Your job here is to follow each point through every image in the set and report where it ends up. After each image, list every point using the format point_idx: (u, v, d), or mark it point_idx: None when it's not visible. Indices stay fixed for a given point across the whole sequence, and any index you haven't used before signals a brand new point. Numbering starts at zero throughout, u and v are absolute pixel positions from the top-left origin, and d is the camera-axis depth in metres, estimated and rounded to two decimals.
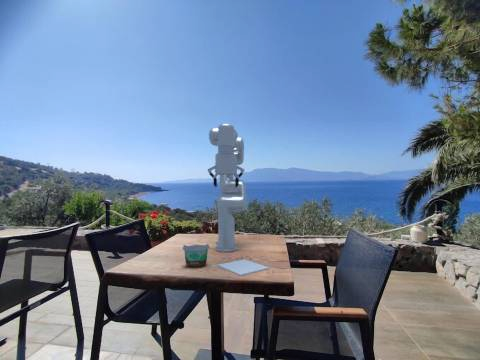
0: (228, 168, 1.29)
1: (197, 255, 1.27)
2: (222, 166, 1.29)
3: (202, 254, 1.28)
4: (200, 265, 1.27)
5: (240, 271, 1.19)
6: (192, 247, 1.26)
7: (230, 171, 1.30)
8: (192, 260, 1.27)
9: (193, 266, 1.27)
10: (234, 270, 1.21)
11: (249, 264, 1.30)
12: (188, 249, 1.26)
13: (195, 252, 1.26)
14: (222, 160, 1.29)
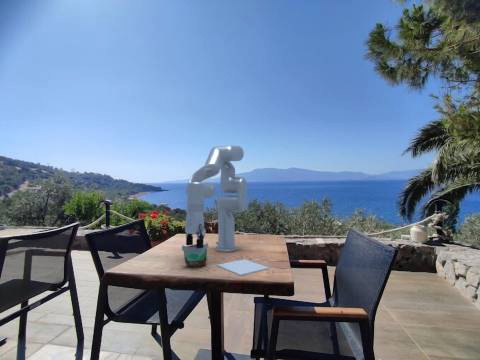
0: None
1: (197, 255, 1.26)
2: None
3: (201, 254, 1.27)
4: (200, 264, 1.27)
5: (240, 271, 1.19)
6: (191, 248, 1.25)
7: None
8: (192, 260, 1.26)
9: (193, 266, 1.27)
10: (234, 270, 1.21)
11: (249, 264, 1.30)
12: (187, 250, 1.26)
13: (194, 252, 1.26)
14: None
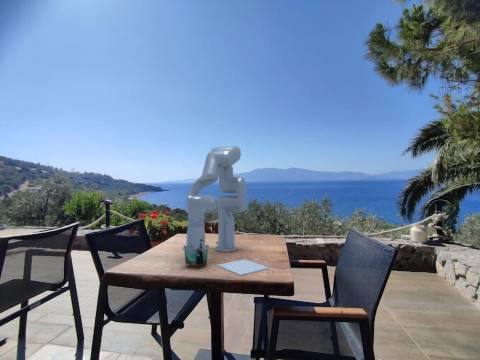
0: None
1: None
2: None
3: (204, 254, 1.28)
4: (202, 265, 1.27)
5: (240, 271, 1.19)
6: None
7: None
8: (194, 260, 1.26)
9: (195, 266, 1.26)
10: (234, 270, 1.21)
11: (249, 264, 1.30)
12: (190, 249, 1.25)
13: None
14: None
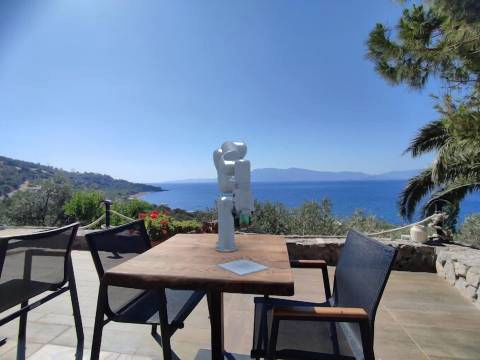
0: None
1: None
2: None
3: None
4: None
5: (240, 271, 1.19)
6: (249, 209, 1.28)
7: None
8: (248, 222, 1.27)
9: None
10: (234, 270, 1.21)
11: (249, 264, 1.30)
12: (250, 212, 1.26)
13: None
14: None
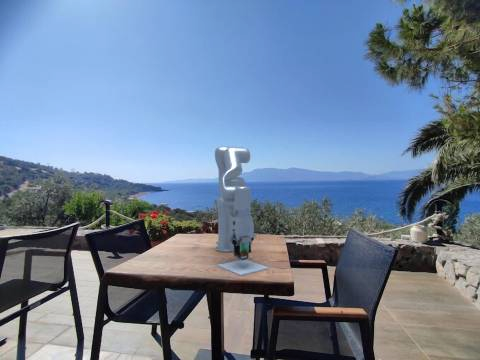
0: None
1: None
2: None
3: None
4: None
5: (240, 271, 1.19)
6: (249, 236, 1.27)
7: None
8: (248, 249, 1.27)
9: (248, 255, 1.27)
10: (234, 270, 1.21)
11: (249, 264, 1.30)
12: (250, 239, 1.25)
13: None
14: None
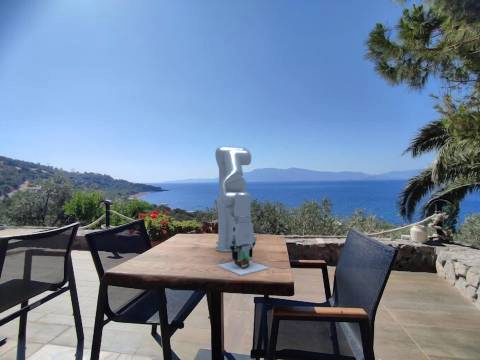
0: None
1: None
2: None
3: None
4: None
5: (240, 271, 1.19)
6: None
7: None
8: None
9: None
10: (234, 270, 1.21)
11: (249, 264, 1.30)
12: (250, 247, 1.26)
13: None
14: None
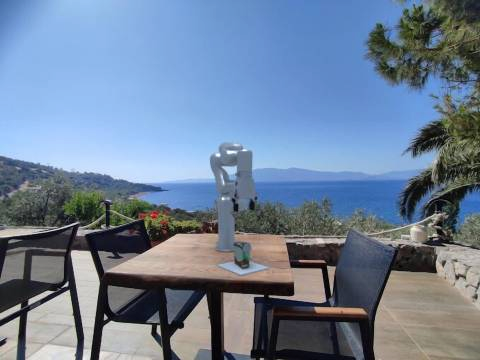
0: None
1: None
2: None
3: None
4: None
5: (240, 271, 1.19)
6: (250, 245, 1.28)
7: None
8: (249, 258, 1.27)
9: None
10: (234, 270, 1.21)
11: (249, 264, 1.30)
12: (250, 248, 1.26)
13: None
14: None
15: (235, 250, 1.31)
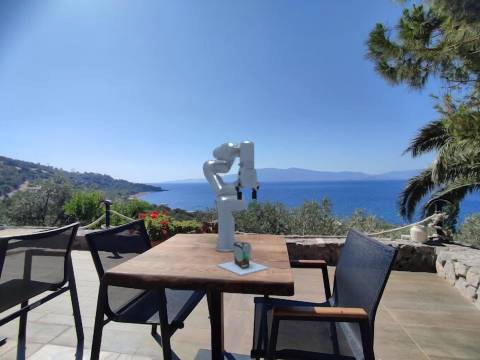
0: None
1: None
2: None
3: None
4: None
5: (240, 271, 1.19)
6: (250, 245, 1.28)
7: None
8: (249, 258, 1.27)
9: None
10: (234, 270, 1.21)
11: (249, 264, 1.30)
12: (250, 248, 1.26)
13: None
14: None
15: (235, 250, 1.31)
